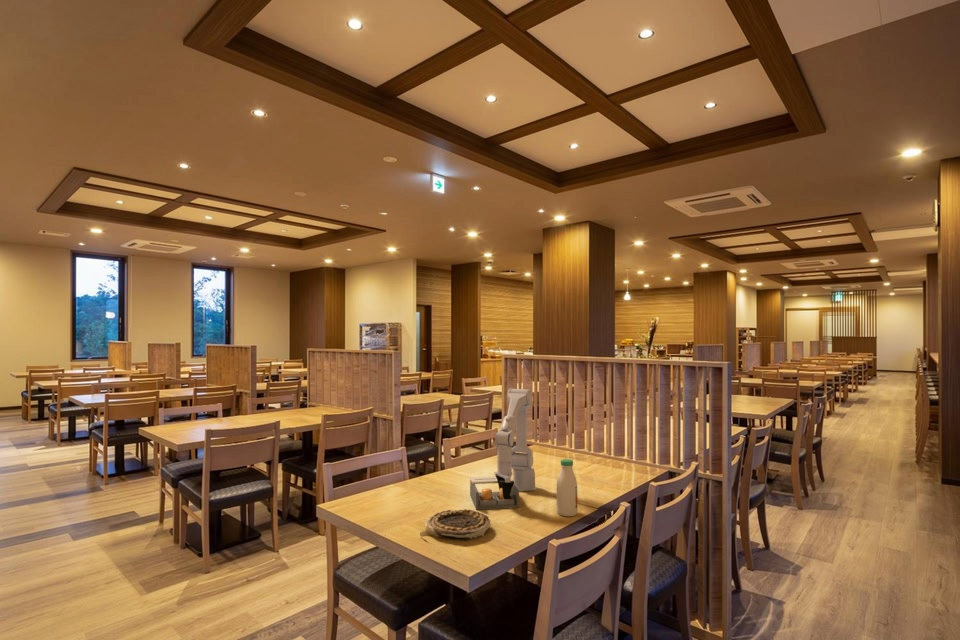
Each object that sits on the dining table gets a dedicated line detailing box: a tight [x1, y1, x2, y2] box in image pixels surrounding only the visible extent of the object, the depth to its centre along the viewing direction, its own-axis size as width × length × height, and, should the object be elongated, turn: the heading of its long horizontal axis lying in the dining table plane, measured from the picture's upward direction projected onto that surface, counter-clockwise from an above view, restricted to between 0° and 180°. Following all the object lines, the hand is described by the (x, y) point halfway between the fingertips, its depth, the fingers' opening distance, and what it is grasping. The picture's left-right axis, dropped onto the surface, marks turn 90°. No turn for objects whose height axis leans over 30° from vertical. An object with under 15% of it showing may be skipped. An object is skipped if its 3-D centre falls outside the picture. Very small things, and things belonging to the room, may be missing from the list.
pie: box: [419, 508, 491, 542], centre depth 172 cm, size 28×27×5 cm
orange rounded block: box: [499, 488, 510, 500], centre depth 199 cm, size 4×4×5 cm
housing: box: [469, 479, 520, 511], centre depth 203 cm, size 17×18×7 cm
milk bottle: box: [556, 458, 578, 517], centre depth 189 cm, size 8×8×20 cm
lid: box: [469, 475, 513, 485], centre depth 209 cm, size 17×7×1 cm, turn 98°
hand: (504, 495), depth 199 cm, fingers open, 7 cm apart
